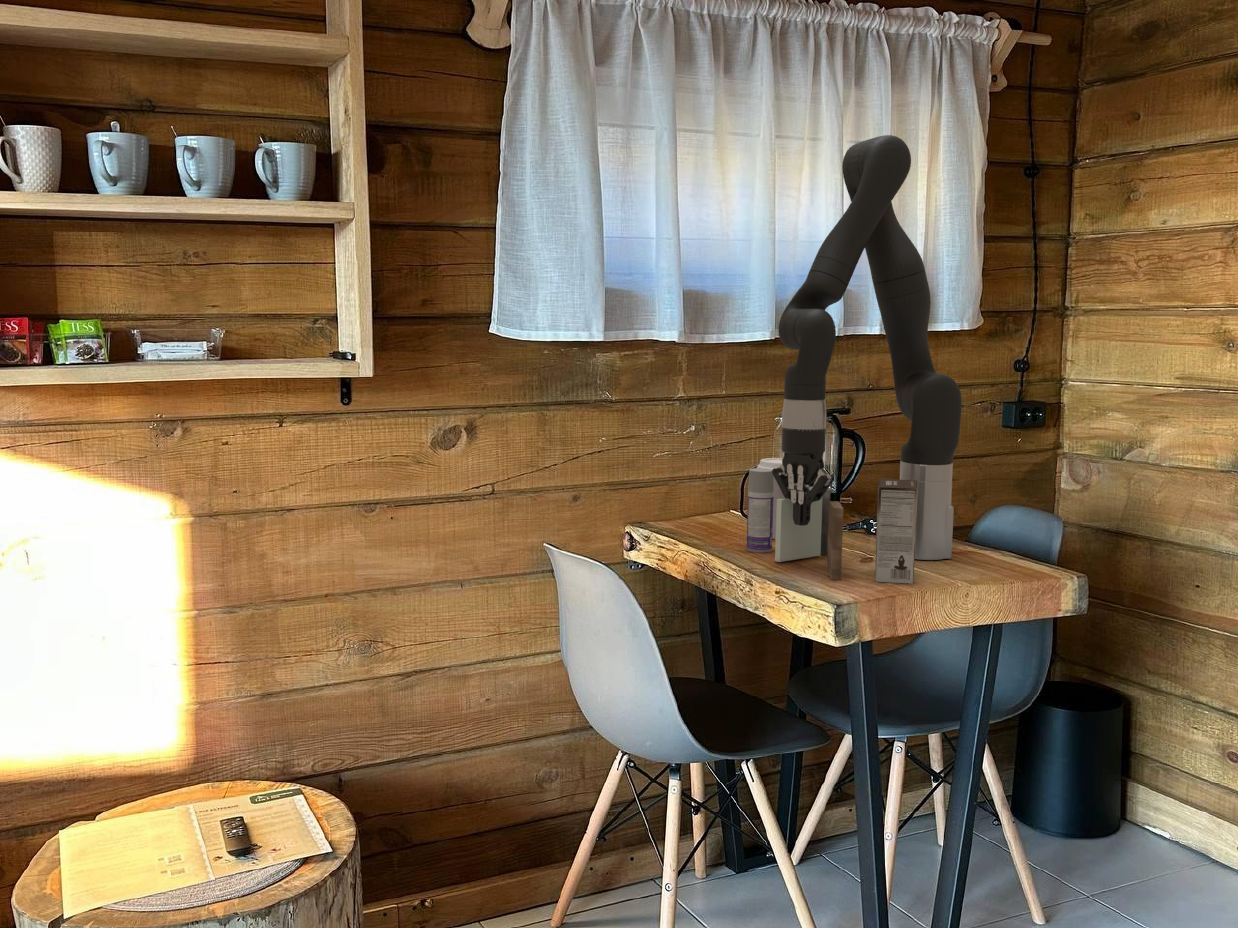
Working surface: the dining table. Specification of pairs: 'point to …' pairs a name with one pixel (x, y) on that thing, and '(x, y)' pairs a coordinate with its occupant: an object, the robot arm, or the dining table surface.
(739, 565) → the dining table surface
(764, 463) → the coffee cup
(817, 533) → the door leaf
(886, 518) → the coffee box
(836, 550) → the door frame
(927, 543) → the robot arm
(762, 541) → the container
